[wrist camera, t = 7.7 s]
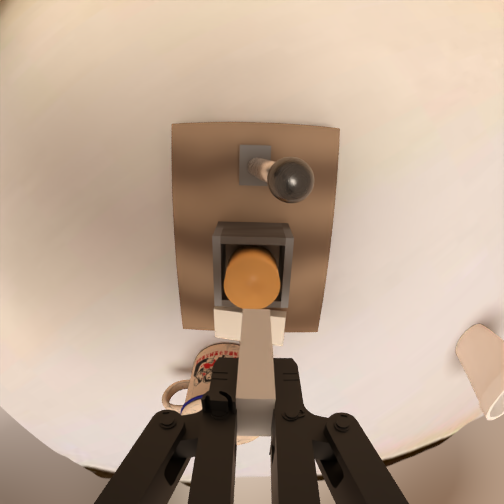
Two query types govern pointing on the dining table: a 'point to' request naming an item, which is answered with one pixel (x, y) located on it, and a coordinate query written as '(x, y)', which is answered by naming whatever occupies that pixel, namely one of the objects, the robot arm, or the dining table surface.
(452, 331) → the dining table surface
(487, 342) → the foam cup
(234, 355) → the teacup with lid
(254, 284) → the push button
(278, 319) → the rocker switch
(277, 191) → the toggle lever
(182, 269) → the switch panel
